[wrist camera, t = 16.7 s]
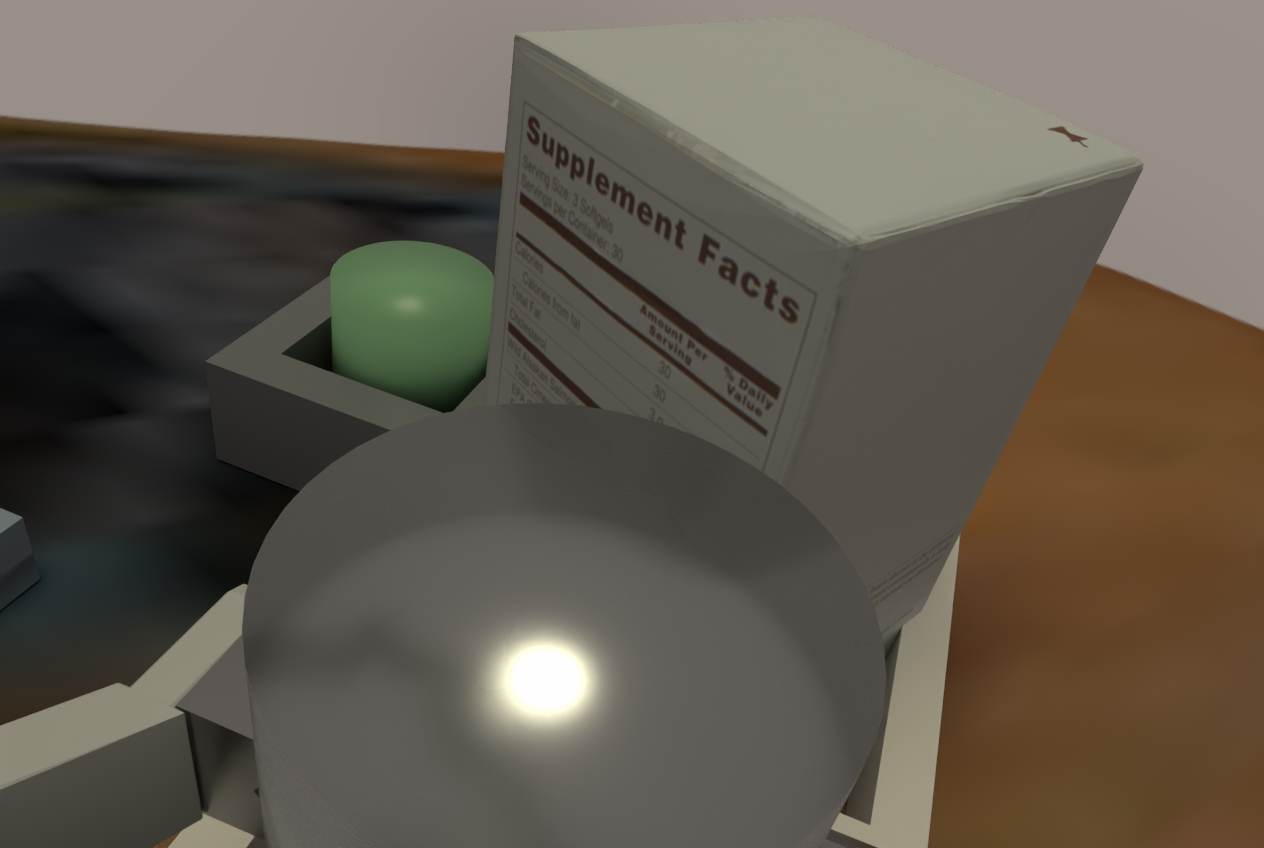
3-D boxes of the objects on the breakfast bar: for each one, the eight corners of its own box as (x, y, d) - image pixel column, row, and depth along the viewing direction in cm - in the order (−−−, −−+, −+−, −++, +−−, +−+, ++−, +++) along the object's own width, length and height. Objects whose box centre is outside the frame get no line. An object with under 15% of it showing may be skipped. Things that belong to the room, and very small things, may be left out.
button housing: (216, 458, 24) (205, 361, 23) (367, 335, 30) (367, 249, 28) (463, 555, 23) (471, 460, 21) (573, 408, 29) (587, 323, 27)
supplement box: (690, 488, 26) (819, 6, 19) (899, 677, 22) (1172, 155, 15) (454, 588, 22) (501, 17, 15) (658, 845, 18) (871, 231, 10)
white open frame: (734, 1990, 9) (802, 2044, 8) (-172, 1401, 11) (-251, 1357, 10) (930, 570, 26) (963, 504, 24) (553, 434, 28) (563, 365, 26)
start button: (301, 422, 25) (295, 287, 22) (384, 351, 28) (386, 226, 26) (439, 473, 24) (448, 340, 22) (508, 395, 27) (522, 271, 25)
